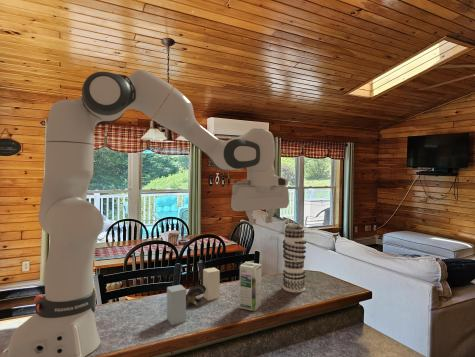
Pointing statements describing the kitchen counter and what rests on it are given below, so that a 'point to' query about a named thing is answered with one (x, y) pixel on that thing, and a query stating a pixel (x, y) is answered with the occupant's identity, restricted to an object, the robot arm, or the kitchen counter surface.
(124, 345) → the kitchen counter surface
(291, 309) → the kitchen counter surface
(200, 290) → the brown animal figure
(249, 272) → the syrup box
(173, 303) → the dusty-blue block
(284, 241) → the decorative candle
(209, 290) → the cream block
